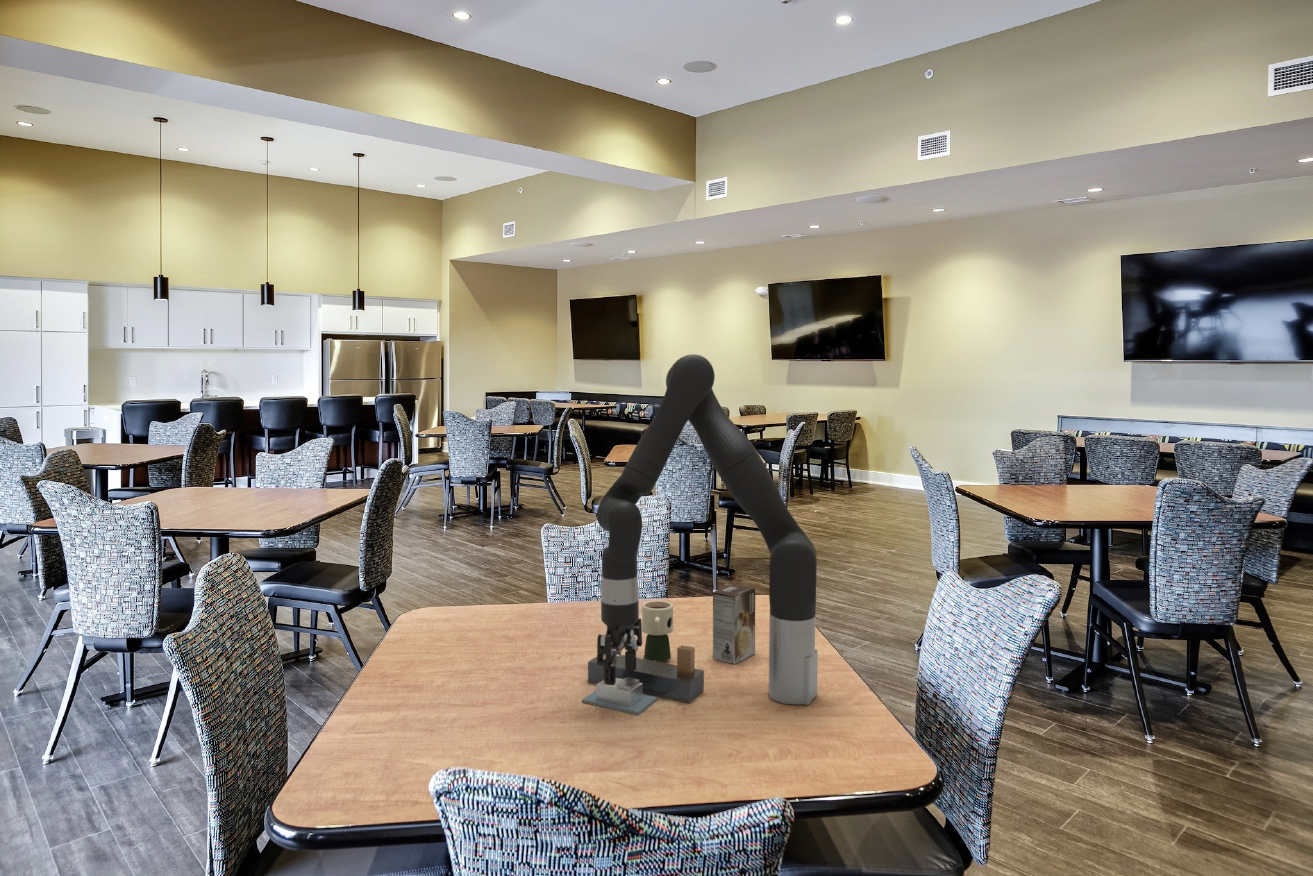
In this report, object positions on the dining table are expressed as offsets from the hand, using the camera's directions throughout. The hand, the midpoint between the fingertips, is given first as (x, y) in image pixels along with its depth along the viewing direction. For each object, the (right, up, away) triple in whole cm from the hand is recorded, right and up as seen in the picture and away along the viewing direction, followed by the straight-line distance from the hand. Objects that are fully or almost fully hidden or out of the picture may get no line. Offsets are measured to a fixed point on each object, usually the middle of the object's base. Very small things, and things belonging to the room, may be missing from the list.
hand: (620, 676), depth 162 cm
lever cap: (0, -5, +1) cm, 5 cm away
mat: (0, -5, +1) cm, 5 cm away
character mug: (+7, -3, +24) cm, 26 cm away
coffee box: (+25, -3, +26) cm, 37 cm away
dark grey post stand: (+5, -5, +8) cm, 11 cm away
